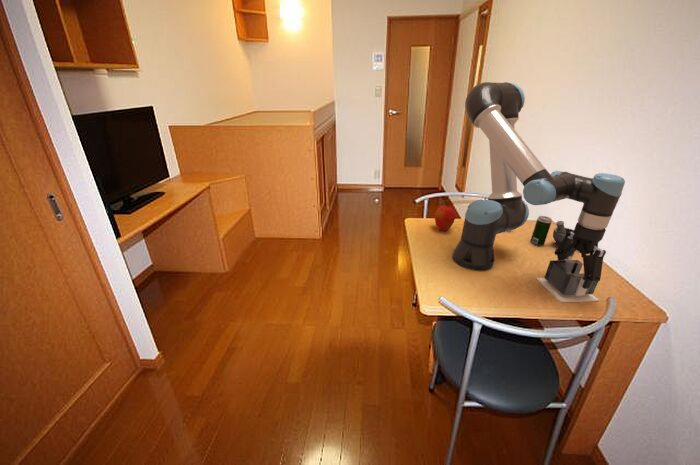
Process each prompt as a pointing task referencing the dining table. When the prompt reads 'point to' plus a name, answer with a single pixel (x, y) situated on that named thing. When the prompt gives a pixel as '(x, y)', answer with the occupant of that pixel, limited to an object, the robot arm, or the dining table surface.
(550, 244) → the dining table surface
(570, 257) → the stand
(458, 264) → the robot arm
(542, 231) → the beer can
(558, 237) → the mortar and pestle
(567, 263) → the c link
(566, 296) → the mat
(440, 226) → the apple
